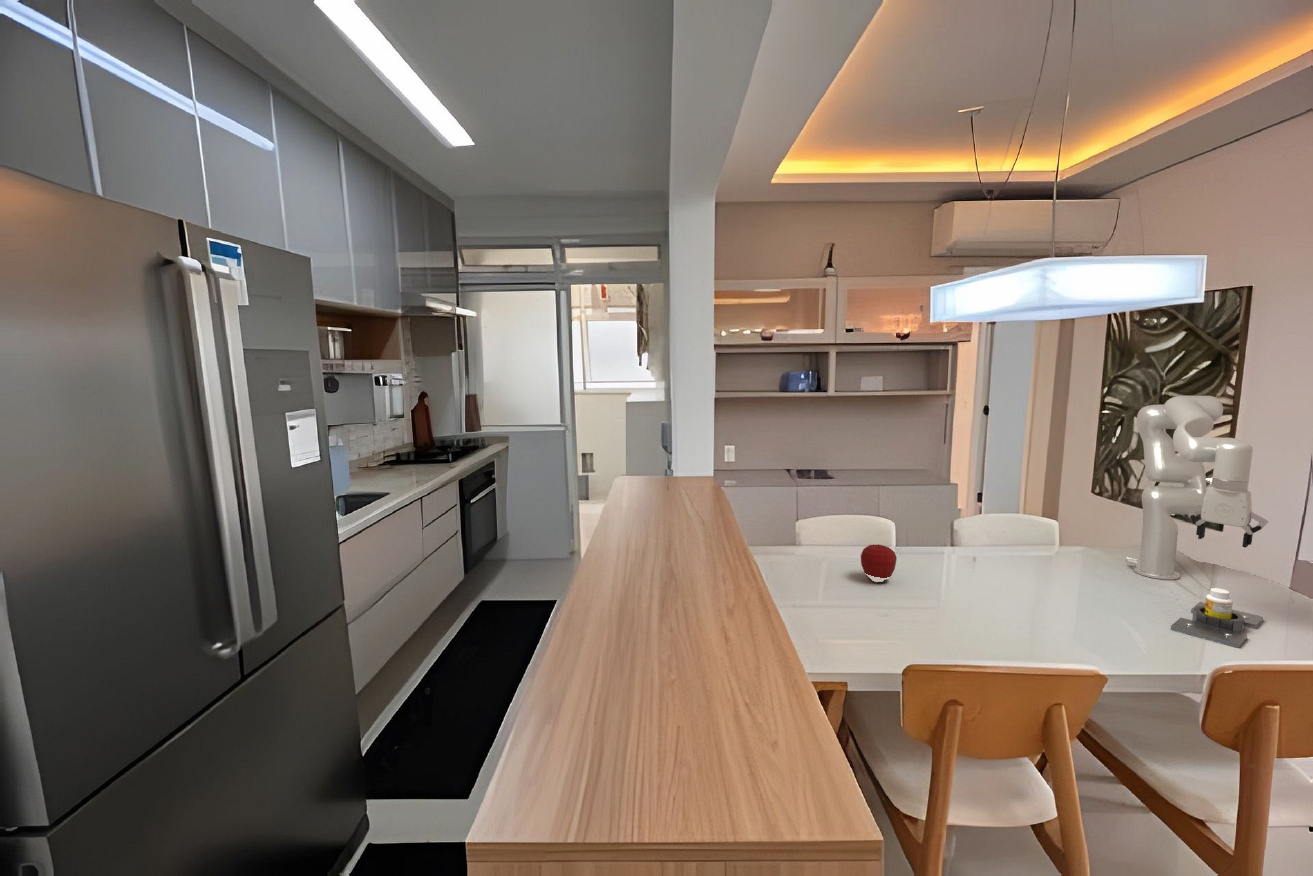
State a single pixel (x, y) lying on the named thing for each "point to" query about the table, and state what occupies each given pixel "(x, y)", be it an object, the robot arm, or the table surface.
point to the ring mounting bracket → (1218, 626)
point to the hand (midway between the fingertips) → (1222, 542)
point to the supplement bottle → (1218, 604)
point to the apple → (878, 561)
